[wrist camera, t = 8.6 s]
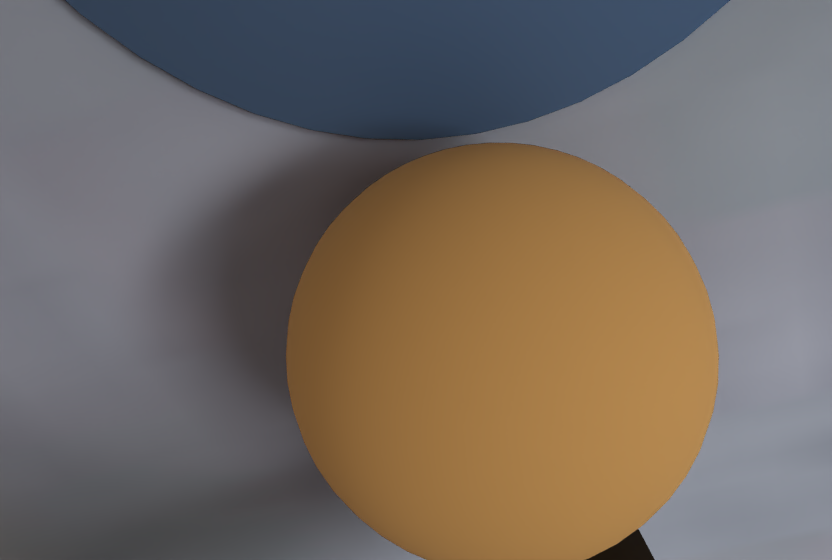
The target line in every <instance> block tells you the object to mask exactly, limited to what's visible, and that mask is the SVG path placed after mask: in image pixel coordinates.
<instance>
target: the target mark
mask: <svg viewBox="0 0 832 560" xmlns="http://www.w3.org/2000/svg"><path fill="white" fill-rule="evenodd" d="M66 1H67V2H68V3H69V4H70V5H71V6H72V7H73V8H74V9H76V10H77V11H78V12H79V13H80V14H81V15H83V16H84V17H85V18H87V19H88V20H90V21H91V22H92V23H94V24H95V25H96V26H98V27H99V28H101V29H102V30H103V31H105V32H106V33H108V34H109V35H110V36H112V37H113V38H115V39H116V40H117V41H119V42H120V43H121V44H123V45H124V46H126V47H127V48H128V49H130V50H131V51H133V52H134V53H135V54H137V55H138V56H139V57H141V58H143V59H145V60H146V61H148V62H150V63H152V64H154V65H155V66H157V67H159V68H161V69H162V70H164V71H166V72H168V73H169V74H171V75H173V76H175V77H176V78H178V79H180V80H182V81H184V82H185V83H187V84H189V85H191V86H192V87H194V88H196V89H198V90H200V91H202V92H205V93H207V94H209V95H212V96H214V97H217V98H219V99H221V100H224V101H226V102H228V103H231V104H233V105H235V106H238V107H240V108H243V109H245V110H247V111H250V112H252V113H254V114H258V115H261V116H265V117H268V118H272V119H275V120H279V121H282V122H286V123H289V124H293V125H296V126H300V127H303V128H307V129H310V130H316V131H322V132H329V133H335V134H342V135H348V136H355V137H361V138H374V139H416V140H422V139H432V138H441V137H451V136H460V135H469V134H477V133H481V132H485V131H489V130H494V129H498V128H502V127H506V126H510V125H514V124H519V123H523V122H527V121H530V120H533V119H535V118H538V117H541V116H543V115H546V114H549V113H551V112H554V111H557V110H559V109H562V108H565V107H567V106H570V105H573V104H575V103H578V102H581V101H583V100H585V99H586V98H588V97H590V96H592V95H594V94H596V93H598V92H600V91H602V90H604V89H606V88H608V87H609V86H611V85H613V84H615V83H617V82H619V81H621V80H623V79H625V78H627V77H629V76H631V75H632V74H634V73H635V72H637V71H638V70H640V69H641V68H643V67H644V66H646V65H647V64H649V63H650V62H652V61H653V60H655V59H656V58H658V57H659V56H661V55H662V54H663V53H665V52H666V51H668V50H669V49H671V48H672V47H674V46H675V45H677V44H678V43H680V42H681V41H683V40H684V39H685V38H686V37H687V36H689V35H690V34H691V33H692V32H693V31H695V30H696V29H697V28H698V27H699V26H700V25H702V24H703V23H704V22H705V21H706V20H708V19H709V18H710V17H711V16H712V15H713V14H715V13H716V12H717V11H718V10H719V9H721V8H722V7H723V6H724V5H725V4H726V3H728V2H729V1H730V0H66Z"/></svg>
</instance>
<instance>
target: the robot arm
mask: <svg viewBox="0 0 832 560" xmlns="http://www.w3.org/2000/svg"><path fill="white" fill-rule="evenodd" d="M586 560H654V558H653V556H652V554H651V552H650V550H649V548H648V546H647V545H646V543H645V541H644V539H643V537H642V535H641V533H640V531H639V529H637V530H636V531H634V532H633V533H631V534H630V535H629V536H627V537H626V538H624V539H623V540H622V541H620V542H619V543H618V544H616V545H614V546H612V547H610V548H608V549H606V550H604V551H602V552H600V553H598V554H596V555H595V556H593V557H591V558H589V559H586Z"/></svg>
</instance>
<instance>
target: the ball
mask: <svg viewBox="0 0 832 560" xmlns="http://www.w3.org/2000/svg"><path fill="white" fill-rule="evenodd" d="M718 360H719V355H718V343H717V336H716V328H715V320H714V315H713V311H712V307H711V304H710V300H709V296H708V293H707V290H706V288H705V285H704V283H703V281H702V278H701V276H700V274H699V272H698V269H697V267H696V265H695V263H694V261H693V259H692V257H691V256H690V254H689V252H688V251H687V249H686V247H685V246H684V244H683V242H682V241H681V239H680V237H679V236H678V234H677V233H676V232H675V231H674V229H673V228H672V227H671V226H670V224H669V223H668V222H667V221H666V219H665V218H664V217H663V216H662V215H661V214H660V213H659V212H658V211H657V210H656V209H655V208H654V207H653V206H652V205H651V204H650V203H649V202H648V201H647V200H646V199H645V198H644V197H642V196H641V195H640V194H638V193H637V192H636V191H635V190H633V189H632V188H631V187H629V186H628V185H627V184H625V183H624V182H623V181H622V180H620V179H619V178H617V177H615V176H614V175H612V174H610V173H609V172H607V171H605V170H604V169H602V168H600V167H598V166H596V165H594V164H592V163H590V162H587V161H585V160H583V159H581V158H579V157H576V156H573V155H570V154H567V153H563V152H560V151H557V150H553V149H549V148H544V147H539V146H535V145H526V144H517V143H482V144H471V145H464V146H459V147H454V148H449V149H444V150H441V151H438V152H435V153H432V154H428V155H425V156H422V157H420V158H418V159H415V160H413V161H411V162H408V163H406V164H404V165H402V166H400V167H398V168H397V169H395V170H393V171H391V172H390V173H388V174H386V175H384V176H383V177H382V178H380V179H379V180H377V181H376V182H375V183H373V184H372V185H370V186H369V187H368V188H366V189H365V190H364V191H363V192H362V193H361V194H360V195H359V196H358V197H356V198H355V199H354V200H353V201H352V202H351V203H350V204H349V205H348V206H347V207H345V208H344V210H343V211H342V212H341V213H340V214H339V215H338V216H337V218H336V219H335V220H334V221H333V222H332V223H331V224H330V226H329V227H328V229H327V230H326V231H325V233H324V234H323V236H322V237H321V239H320V240H319V242H318V243H317V245H316V247H315V249H314V251H313V253H312V255H311V257H310V258H309V260H308V262H307V264H306V266H305V269H304V271H303V273H302V276H301V278H300V281H299V284H298V287H297V289H296V292H295V295H294V298H293V303H292V308H291V312H290V317H289V323H288V335H287V348H286V365H287V382H288V387H289V392H290V398H291V403H292V408H293V411H294V414H295V417H296V420H297V423H298V426H299V429H300V432H301V434H302V437H303V440H304V443H305V445H306V447H307V449H308V451H309V453H310V455H311V457H312V459H313V461H314V463H315V465H316V467H317V468H318V470H319V471H320V472H321V474H322V475H323V477H324V478H325V480H326V481H327V482H328V484H329V485H330V487H331V488H332V490H333V491H334V492H335V493H336V494H337V495H338V496H339V497H340V499H341V500H342V501H343V502H344V503H345V504H346V505H347V506H348V507H349V508H350V509H351V510H352V511H353V512H354V513H355V514H356V515H357V516H358V517H359V518H360V519H361V520H362V521H363V522H365V523H366V524H367V525H368V526H370V527H371V528H372V529H373V530H375V531H376V532H377V533H378V534H380V535H381V536H382V537H384V538H386V539H387V540H389V541H391V542H392V543H394V544H396V545H397V546H399V547H401V548H402V549H404V550H406V551H408V552H410V553H412V554H415V555H417V556H419V557H422V558H424V559H427V560H586V559H589V558H591V557H593V556H595V555H596V554H598V553H600V552H602V551H604V550H606V549H608V548H610V547H612V546H614V545H616V544H618V543H619V542H620V541H622V540H623V539H624V538H626V537H627V536H629V535H630V534H631V533H633V532H634V531H636V530H637V529H638V528H640V527H641V526H642V525H643V524H644V523H646V522H647V521H648V520H649V519H650V518H651V517H652V516H653V515H654V514H655V513H656V512H657V511H658V510H659V509H660V508H661V507H662V506H663V505H664V504H665V503H666V502H667V501H668V500H669V499H670V497H671V496H672V495H673V493H674V492H675V491H676V489H677V488H678V486H679V485H680V484H681V482H682V481H683V480H684V478H685V477H686V476H687V474H688V472H689V470H690V468H691V466H692V464H693V462H694V460H695V459H696V457H697V455H698V453H699V451H700V449H701V446H702V443H703V440H704V437H705V434H706V431H707V428H708V425H709V422H710V419H711V416H712V413H713V409H714V403H715V398H716V392H717V386H718Z"/></svg>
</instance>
